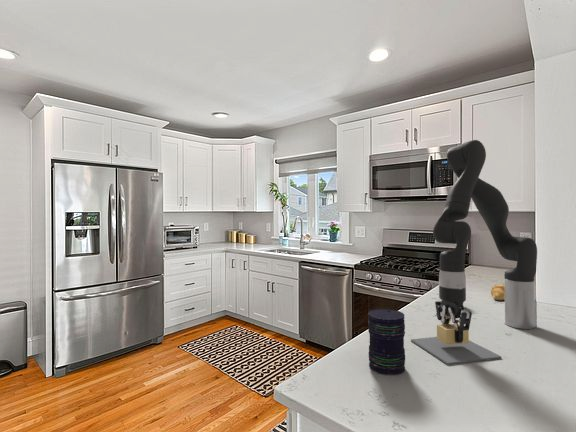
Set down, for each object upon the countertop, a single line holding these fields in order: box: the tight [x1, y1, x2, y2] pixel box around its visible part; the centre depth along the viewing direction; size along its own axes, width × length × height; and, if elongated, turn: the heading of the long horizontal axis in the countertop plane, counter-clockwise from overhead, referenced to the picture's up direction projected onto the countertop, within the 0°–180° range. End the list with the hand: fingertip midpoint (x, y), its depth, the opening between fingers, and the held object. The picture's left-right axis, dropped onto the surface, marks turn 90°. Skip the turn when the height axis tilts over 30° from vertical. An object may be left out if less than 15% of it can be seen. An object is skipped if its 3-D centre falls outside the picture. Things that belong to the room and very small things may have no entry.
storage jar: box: [367, 308, 406, 376], centre depth 92 cm, size 10×10×15 cm
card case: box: [436, 322, 470, 345], centre depth 104 cm, size 5×8×4 cm, turn 98°
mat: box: [410, 336, 502, 366], centre depth 104 cm, size 18×18×1 cm
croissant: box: [490, 283, 505, 301], centre depth 165 cm, size 21×10×8 cm, turn 132°
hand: (452, 338), depth 104 cm, fingers closed on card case, 5 cm apart
